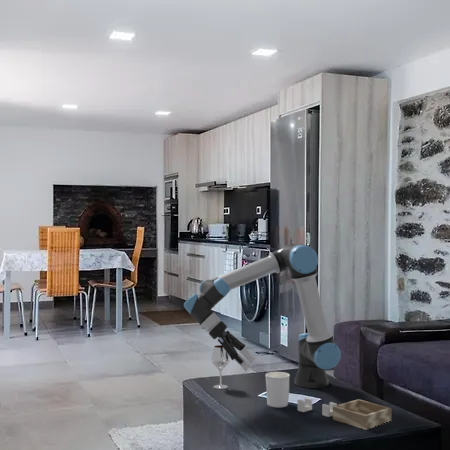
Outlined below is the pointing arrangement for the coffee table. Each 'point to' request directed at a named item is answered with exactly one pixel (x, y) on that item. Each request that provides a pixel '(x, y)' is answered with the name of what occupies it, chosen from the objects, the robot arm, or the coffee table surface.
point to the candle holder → (277, 389)
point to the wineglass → (220, 362)
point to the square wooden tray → (361, 414)
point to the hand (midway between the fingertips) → (250, 365)
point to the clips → (307, 405)
